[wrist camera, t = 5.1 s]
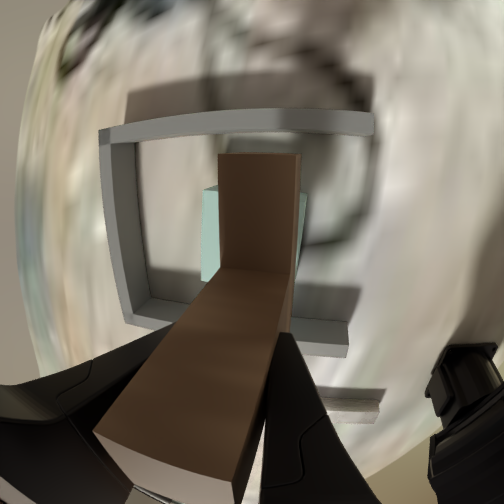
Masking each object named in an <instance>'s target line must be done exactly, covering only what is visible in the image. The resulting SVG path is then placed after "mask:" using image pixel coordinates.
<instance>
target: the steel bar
mask: <svg viewBox="0 0 504 504" xmlns="http://www.w3.org/2000/svg"><path fill="white" fill-rule="evenodd" d="M321 399H322V402H323V404H324V406H325V408H326V411H327V414H328V415H329V417H330V420H331V422H332V423H346V424H374V422H375V420H376V418H377V416H378V414H379V412H380V411H379V402H378V400H361V399H338V398H323V397H321Z"/></svg>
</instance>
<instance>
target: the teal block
mask: <svg viewBox="0 0 504 504" xmlns="http://www.w3.org/2000/svg"><path fill="white" fill-rule="evenodd" d="M306 202H307V194H305V193H300V203H299V222H298V239H297V254H296V268H295V279H296V273H297V267H298V260H299V254H300V247H301V240H302V232H303V225H304V217H305V210H306ZM219 268H220V248H219V210H218V185H216V186H213V187H210V188H207V189H204V190H203V200H202V234H201V281H205V282H209V280H210V279H211V278H212V277H213V276H214V274H215V273H216V272H217V271H218V269H219ZM294 283H295V280H294Z"/></svg>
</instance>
